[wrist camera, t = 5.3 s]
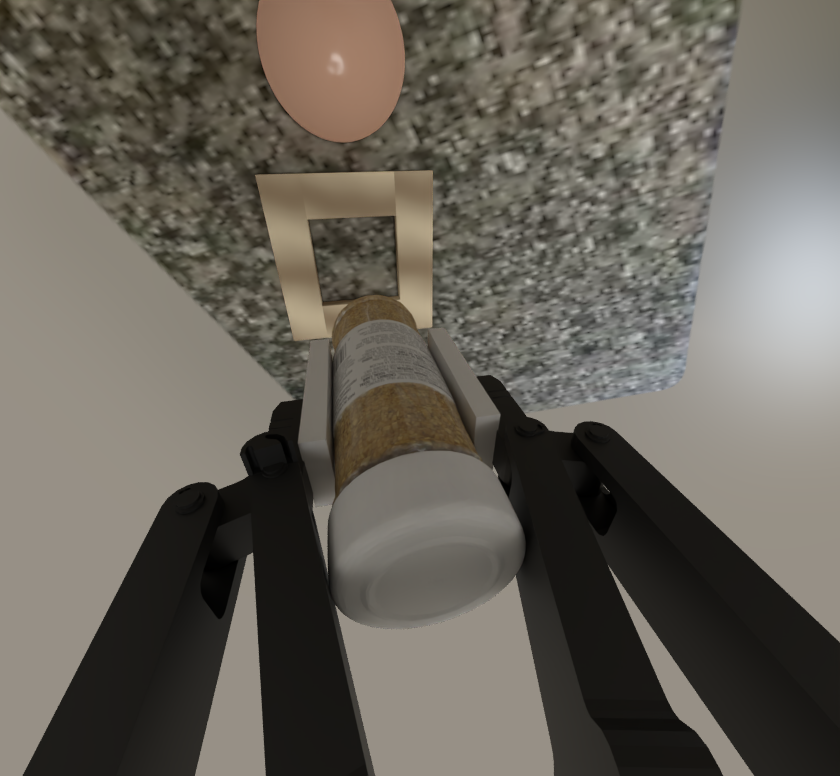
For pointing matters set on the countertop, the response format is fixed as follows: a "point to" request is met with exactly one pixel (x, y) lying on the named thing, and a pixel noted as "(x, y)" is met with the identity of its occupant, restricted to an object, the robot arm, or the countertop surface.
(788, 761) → the robot arm
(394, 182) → the collar board
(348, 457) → the sprinkles bottle
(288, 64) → the coaster
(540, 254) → the countertop surface
